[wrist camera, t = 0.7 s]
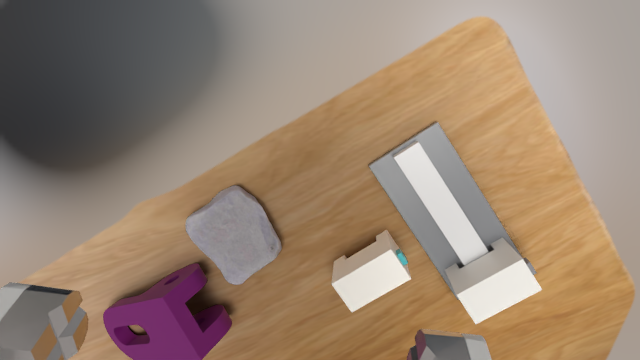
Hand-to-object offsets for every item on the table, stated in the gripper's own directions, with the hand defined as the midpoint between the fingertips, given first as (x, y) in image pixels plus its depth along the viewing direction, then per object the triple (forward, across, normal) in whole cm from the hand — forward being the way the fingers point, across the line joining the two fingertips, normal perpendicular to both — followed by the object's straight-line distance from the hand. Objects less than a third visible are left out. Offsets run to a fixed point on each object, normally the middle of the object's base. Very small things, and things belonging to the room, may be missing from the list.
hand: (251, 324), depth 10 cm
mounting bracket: (+33, -16, -45) cm, 58 cm away
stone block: (+38, -7, -31) cm, 49 cm away
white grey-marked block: (+34, +26, -29) cm, 51 cm away
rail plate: (+37, +20, -24) cm, 49 cm away
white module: (+35, +11, -32) cm, 49 cm away
